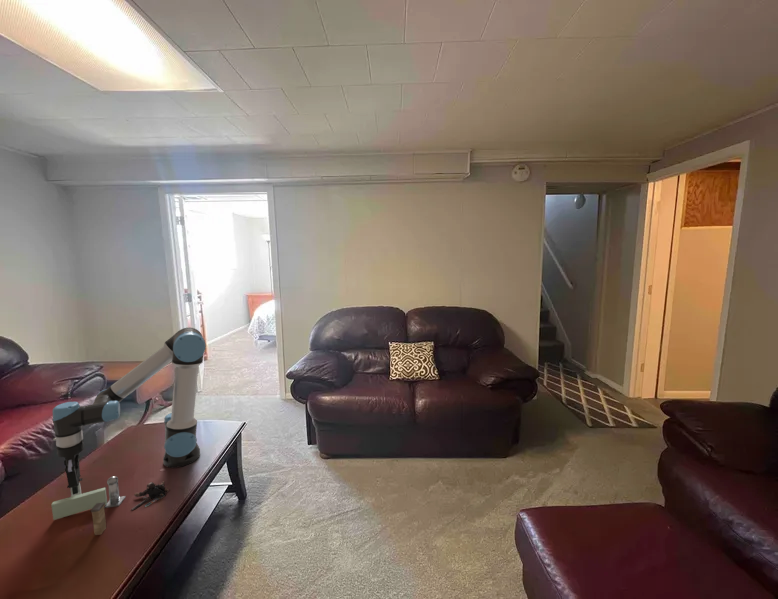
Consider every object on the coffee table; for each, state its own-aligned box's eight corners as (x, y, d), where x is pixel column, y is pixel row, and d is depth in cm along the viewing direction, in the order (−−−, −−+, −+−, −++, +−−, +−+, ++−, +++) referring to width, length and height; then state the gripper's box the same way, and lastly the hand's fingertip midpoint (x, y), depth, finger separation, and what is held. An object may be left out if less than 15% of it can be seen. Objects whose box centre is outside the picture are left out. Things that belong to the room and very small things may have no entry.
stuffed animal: (173, 479, 147) (164, 479, 137) (170, 506, 143) (160, 508, 133) (142, 484, 144) (130, 484, 134) (137, 511, 140) (124, 513, 130)
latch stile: (107, 527, 123) (104, 502, 122) (101, 534, 120) (98, 509, 118) (99, 528, 122) (96, 503, 121) (93, 535, 119) (90, 510, 118)
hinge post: (125, 497, 138) (123, 472, 136) (118, 506, 133) (116, 480, 131) (111, 499, 137) (108, 473, 135) (104, 508, 132) (101, 481, 130)
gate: (107, 501, 134) (105, 487, 133) (106, 504, 133) (104, 490, 132) (54, 516, 126) (52, 501, 125) (53, 520, 124) (51, 505, 124)
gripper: (59, 438, 134) (66, 493, 137) (53, 454, 123) (60, 513, 126) (85, 432, 138) (91, 486, 141) (80, 447, 128) (87, 505, 131)
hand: (76, 499), depth 134 cm, fingers closed
